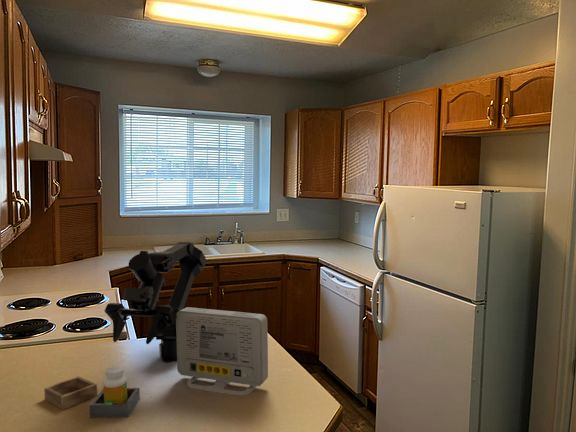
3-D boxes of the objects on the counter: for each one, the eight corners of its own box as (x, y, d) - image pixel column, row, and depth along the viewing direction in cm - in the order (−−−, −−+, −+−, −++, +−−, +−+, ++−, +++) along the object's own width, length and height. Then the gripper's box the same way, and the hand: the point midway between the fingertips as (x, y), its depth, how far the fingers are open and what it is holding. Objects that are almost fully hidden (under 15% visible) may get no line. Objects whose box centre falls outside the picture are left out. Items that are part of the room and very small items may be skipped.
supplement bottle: (126, 411, 113) (125, 372, 112) (103, 414, 111) (101, 375, 111) (128, 401, 118) (127, 364, 117) (105, 404, 117) (104, 366, 116)
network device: (271, 384, 127) (270, 312, 126) (258, 398, 119) (257, 321, 117) (189, 372, 136) (187, 304, 134) (172, 384, 127) (170, 313, 126)
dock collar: (104, 399, 119) (103, 385, 119) (139, 399, 119) (139, 385, 119) (90, 417, 110) (89, 402, 110) (128, 417, 110) (127, 402, 110)
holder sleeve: (78, 386, 127) (77, 376, 126) (97, 395, 121) (96, 384, 121) (44, 399, 119) (44, 388, 119) (63, 409, 114) (62, 397, 114)
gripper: (106, 274, 127) (83, 326, 117) (171, 275, 124) (153, 329, 114) (123, 295, 136) (102, 345, 126) (183, 297, 132) (168, 349, 122)
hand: (130, 342), depth 122 cm, fingers open, 9 cm apart
